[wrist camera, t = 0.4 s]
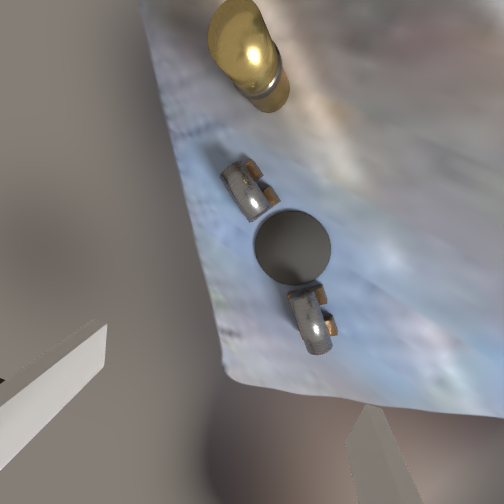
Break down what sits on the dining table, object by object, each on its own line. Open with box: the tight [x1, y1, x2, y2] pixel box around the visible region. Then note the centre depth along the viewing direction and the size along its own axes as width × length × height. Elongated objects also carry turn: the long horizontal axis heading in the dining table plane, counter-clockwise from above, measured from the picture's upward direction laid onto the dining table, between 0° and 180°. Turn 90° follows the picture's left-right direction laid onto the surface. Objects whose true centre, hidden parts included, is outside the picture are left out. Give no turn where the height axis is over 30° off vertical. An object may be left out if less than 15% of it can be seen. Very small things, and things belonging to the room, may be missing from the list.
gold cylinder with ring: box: [208, 0, 290, 113], centre depth 25 cm, size 5×5×12 cm
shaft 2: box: [287, 284, 338, 355], centre depth 33 cm, size 8×5×5 cm, turn 22°
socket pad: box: [255, 211, 331, 285], centre depth 34 cm, size 11×11×1 cm
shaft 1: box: [220, 160, 280, 223], centre depth 32 cm, size 7×5×5 cm
